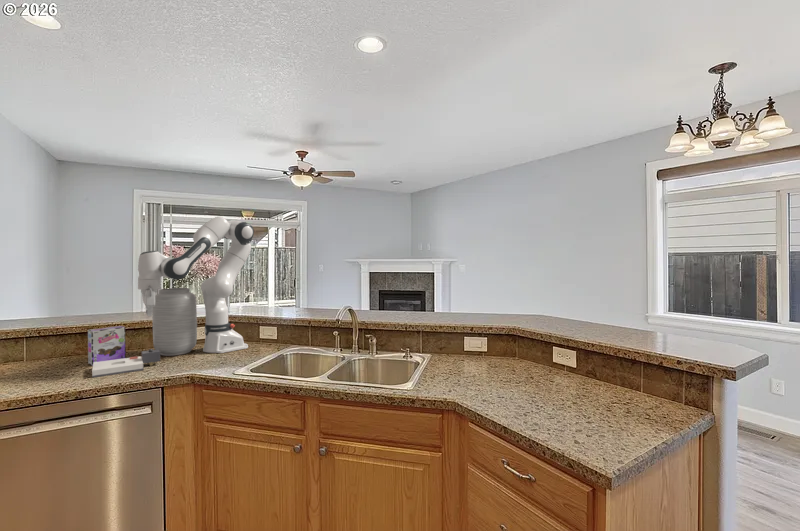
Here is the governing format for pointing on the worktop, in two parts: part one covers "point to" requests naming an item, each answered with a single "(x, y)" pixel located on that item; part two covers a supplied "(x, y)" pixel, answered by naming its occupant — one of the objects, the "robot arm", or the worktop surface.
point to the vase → (174, 321)
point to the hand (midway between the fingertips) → (148, 314)
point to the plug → (151, 356)
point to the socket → (117, 366)
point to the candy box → (106, 344)
